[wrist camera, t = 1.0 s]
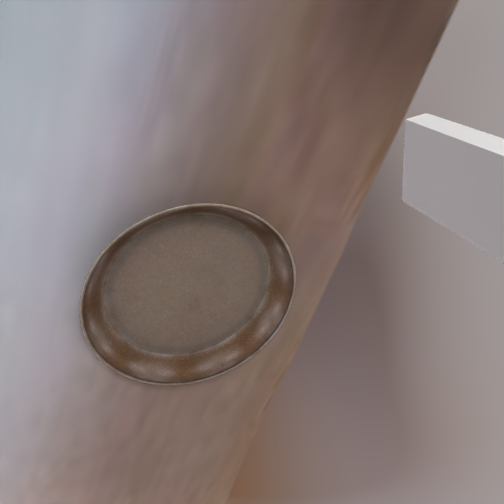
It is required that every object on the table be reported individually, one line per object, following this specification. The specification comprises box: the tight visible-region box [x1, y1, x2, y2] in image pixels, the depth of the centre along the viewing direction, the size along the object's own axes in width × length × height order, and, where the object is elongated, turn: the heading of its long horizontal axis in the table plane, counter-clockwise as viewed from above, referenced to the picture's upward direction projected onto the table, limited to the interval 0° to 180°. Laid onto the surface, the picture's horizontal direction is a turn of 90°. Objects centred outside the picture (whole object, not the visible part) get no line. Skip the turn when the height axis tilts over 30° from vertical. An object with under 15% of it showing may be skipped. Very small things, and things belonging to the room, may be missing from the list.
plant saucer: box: [79, 203, 296, 386], centre depth 43 cm, size 21×21×3 cm
